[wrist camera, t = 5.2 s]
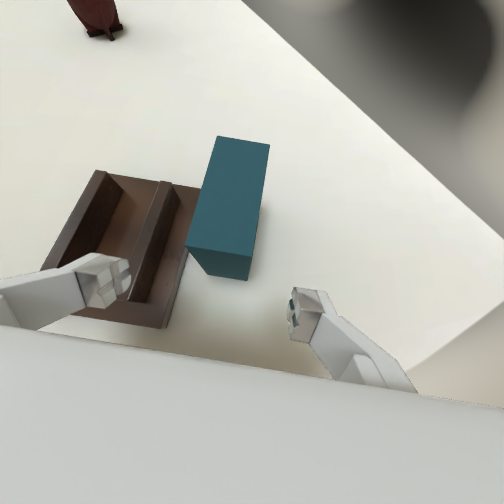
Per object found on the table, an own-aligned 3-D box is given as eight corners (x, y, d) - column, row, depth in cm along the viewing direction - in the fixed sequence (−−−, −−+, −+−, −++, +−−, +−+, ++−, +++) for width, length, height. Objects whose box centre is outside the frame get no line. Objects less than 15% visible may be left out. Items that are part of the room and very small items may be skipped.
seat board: (166, 328, 18) (144, 331, 14) (47, 309, 18) (-11, 307, 14) (204, 196, 24) (196, 170, 19) (112, 180, 24) (84, 151, 19)
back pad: (247, 280, 20) (252, 256, 12) (207, 274, 20) (184, 245, 12) (259, 205, 24) (270, 144, 15) (225, 199, 24) (216, 135, 15)
